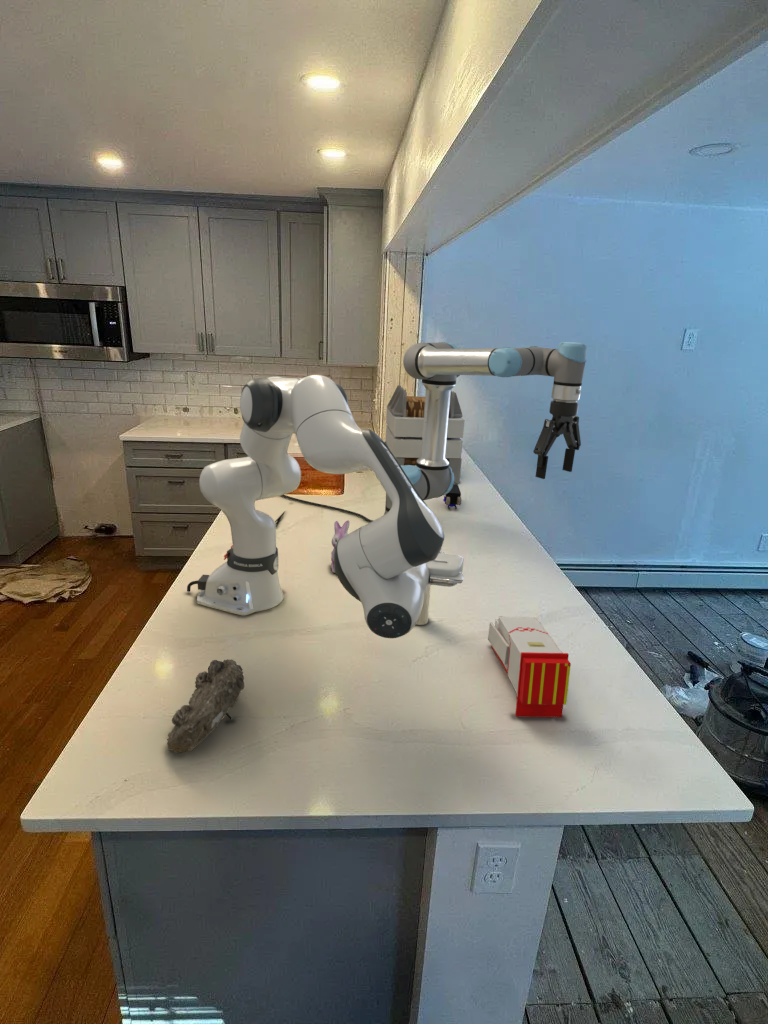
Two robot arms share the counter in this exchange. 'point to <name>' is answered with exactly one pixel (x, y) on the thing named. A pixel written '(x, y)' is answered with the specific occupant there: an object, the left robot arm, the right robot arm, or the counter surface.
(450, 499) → the figurine character
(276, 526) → the feather
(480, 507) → the counter surface
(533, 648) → the toy
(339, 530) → the figurine
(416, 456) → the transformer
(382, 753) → the counter surface
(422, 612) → the bottle
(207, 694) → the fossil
